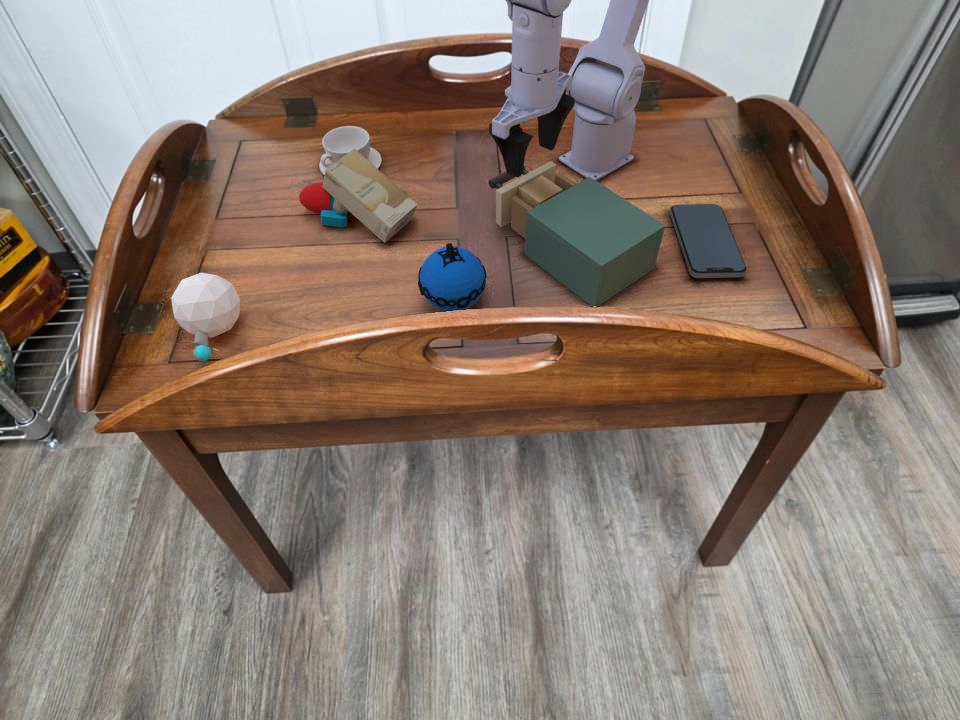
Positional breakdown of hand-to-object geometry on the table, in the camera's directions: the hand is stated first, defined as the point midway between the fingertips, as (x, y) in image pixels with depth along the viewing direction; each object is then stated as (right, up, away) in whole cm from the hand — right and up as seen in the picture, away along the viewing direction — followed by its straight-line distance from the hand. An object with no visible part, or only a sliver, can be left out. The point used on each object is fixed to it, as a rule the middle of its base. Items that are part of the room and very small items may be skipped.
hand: (530, 160), depth 88 cm
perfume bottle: (-41, -24, -6) cm, 48 cm away
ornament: (-10, -20, -3) cm, 22 cm away
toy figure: (-26, -5, +9) cm, 28 cm away
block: (+2, -6, +5) cm, 8 cm away
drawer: (+2, -7, +6) cm, 9 cm away
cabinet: (+8, -14, +1) cm, 16 cm away
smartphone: (+25, -11, +3) cm, 27 cm away
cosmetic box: (-18, -8, +4) cm, 20 cm away
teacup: (-28, +4, +17) cm, 33 cm away
